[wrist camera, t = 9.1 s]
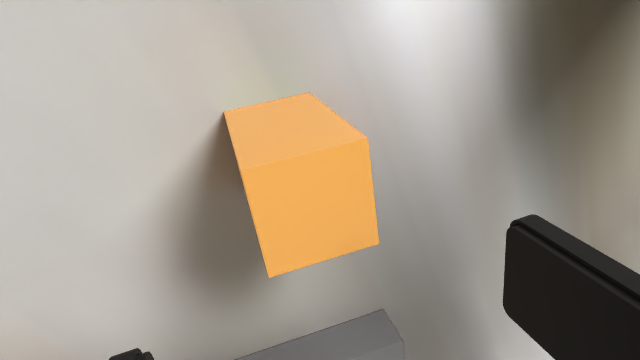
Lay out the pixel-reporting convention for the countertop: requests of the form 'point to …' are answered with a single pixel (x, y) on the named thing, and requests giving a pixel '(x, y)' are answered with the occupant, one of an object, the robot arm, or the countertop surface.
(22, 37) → the countertop surface
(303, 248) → the lockout block
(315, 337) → the breaker panel
